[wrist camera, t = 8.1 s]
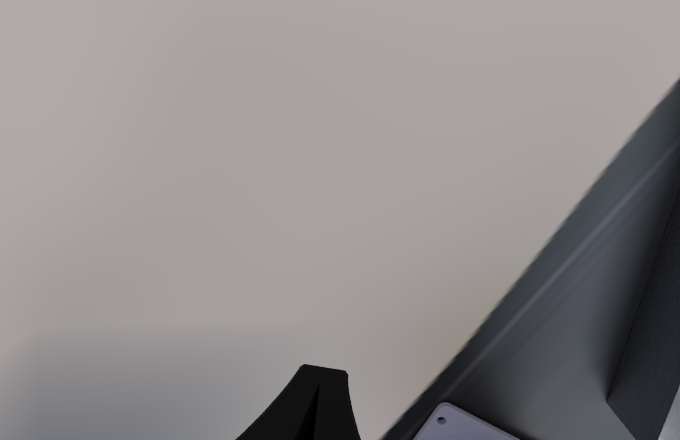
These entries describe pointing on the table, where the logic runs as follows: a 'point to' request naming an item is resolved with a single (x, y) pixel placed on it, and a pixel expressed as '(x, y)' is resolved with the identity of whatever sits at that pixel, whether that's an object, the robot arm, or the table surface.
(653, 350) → the panel
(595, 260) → the table surface
